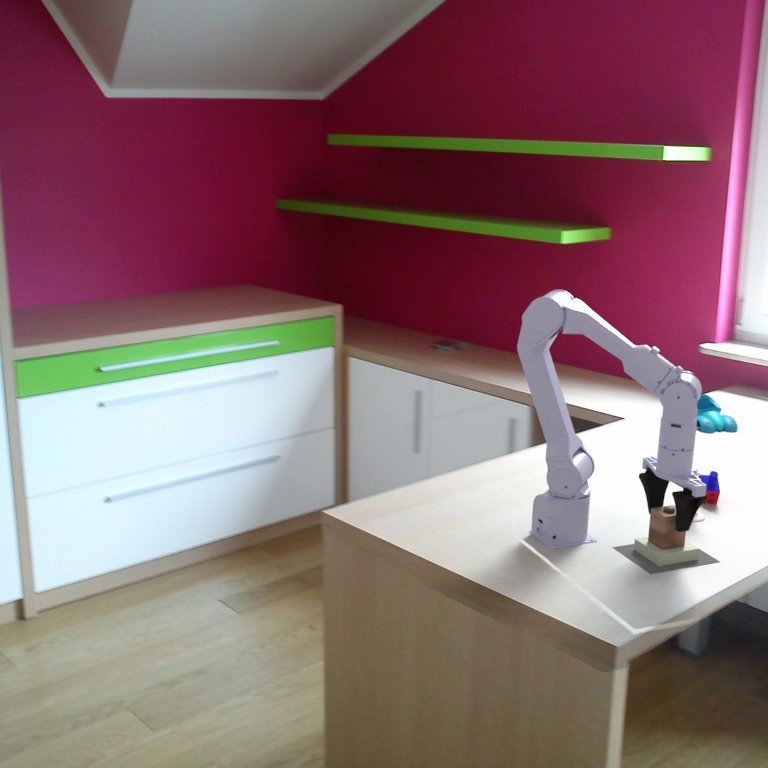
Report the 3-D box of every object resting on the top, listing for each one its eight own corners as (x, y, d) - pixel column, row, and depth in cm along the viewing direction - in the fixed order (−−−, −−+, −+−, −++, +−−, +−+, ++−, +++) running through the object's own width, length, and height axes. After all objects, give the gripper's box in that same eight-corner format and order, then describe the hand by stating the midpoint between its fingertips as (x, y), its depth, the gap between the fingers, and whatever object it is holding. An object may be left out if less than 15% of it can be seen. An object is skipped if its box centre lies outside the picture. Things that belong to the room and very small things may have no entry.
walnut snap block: (662, 550, 166) (665, 514, 164) (647, 540, 169) (651, 505, 168) (684, 546, 167) (688, 510, 166) (669, 537, 171) (673, 502, 169)
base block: (658, 566, 164) (659, 555, 164) (633, 549, 171) (634, 538, 170) (698, 559, 167) (699, 548, 167) (672, 543, 173) (673, 532, 173)
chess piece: (683, 512, 189) (688, 462, 186) (709, 518, 186) (714, 468, 183) (673, 519, 185) (678, 469, 183) (698, 526, 182) (704, 475, 180)
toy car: (708, 412, 256) (710, 387, 254) (743, 433, 239) (745, 406, 237) (668, 413, 254) (671, 388, 253) (701, 434, 237) (703, 408, 236)
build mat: (650, 576, 162) (650, 573, 161) (612, 549, 172) (612, 547, 171) (720, 564, 166) (720, 561, 166) (679, 539, 176) (679, 536, 176)
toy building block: (696, 508, 195) (703, 480, 190) (694, 492, 198) (701, 464, 193) (715, 509, 195) (722, 482, 189) (712, 493, 198) (720, 465, 192)
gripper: (725, 457, 159) (716, 535, 162) (669, 430, 172) (662, 503, 175) (688, 461, 156) (680, 540, 160) (635, 434, 169) (628, 508, 173)
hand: (668, 521), depth 167 cm, fingers open, 7 cm apart
